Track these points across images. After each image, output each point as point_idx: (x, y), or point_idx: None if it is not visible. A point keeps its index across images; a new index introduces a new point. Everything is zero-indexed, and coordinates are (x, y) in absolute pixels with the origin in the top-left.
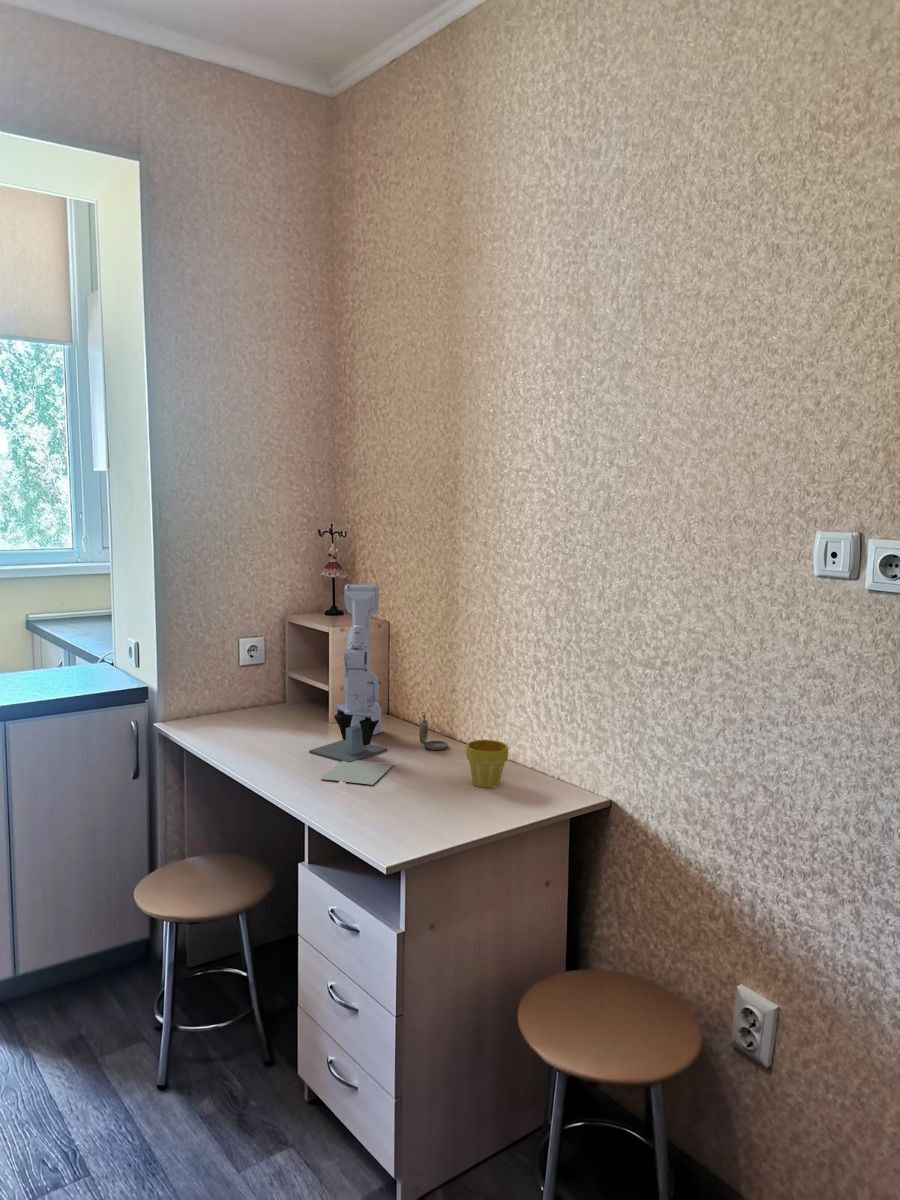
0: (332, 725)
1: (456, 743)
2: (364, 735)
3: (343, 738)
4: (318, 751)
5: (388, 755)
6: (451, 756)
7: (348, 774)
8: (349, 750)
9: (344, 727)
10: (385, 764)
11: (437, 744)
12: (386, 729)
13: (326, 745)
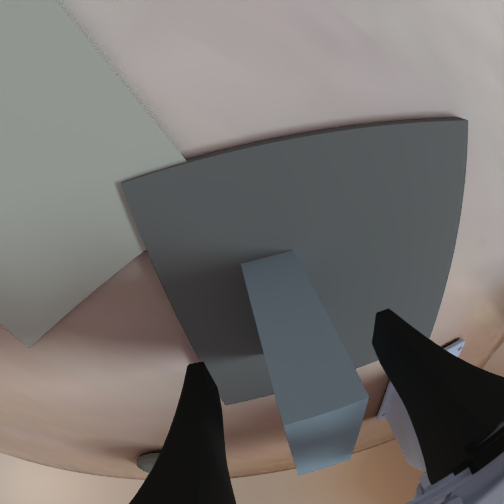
0: (501, 332)
1: None
2: (176, 427)
3: (386, 316)
4: (431, 144)
5: (161, 382)
6: (83, 449)
7: None
8: (267, 274)
9: (421, 380)
10: (26, 320)
11: None
12: (382, 421)
13: (453, 235)
